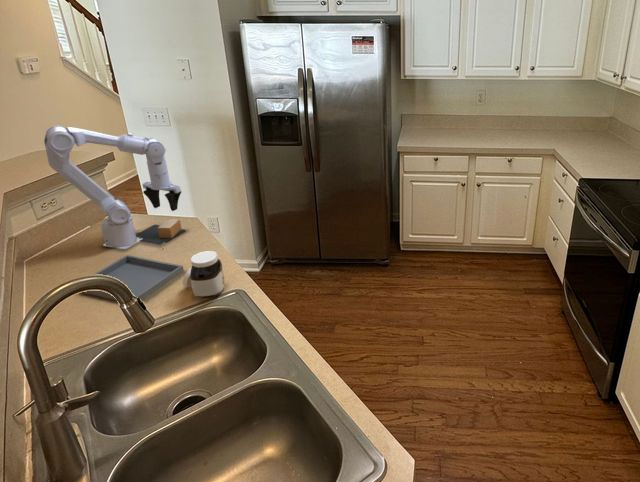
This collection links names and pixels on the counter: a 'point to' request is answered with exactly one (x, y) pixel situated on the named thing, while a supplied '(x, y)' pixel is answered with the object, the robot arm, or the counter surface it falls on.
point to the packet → (169, 228)
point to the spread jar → (205, 275)
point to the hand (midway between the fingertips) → (165, 208)
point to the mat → (155, 235)
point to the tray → (140, 275)
